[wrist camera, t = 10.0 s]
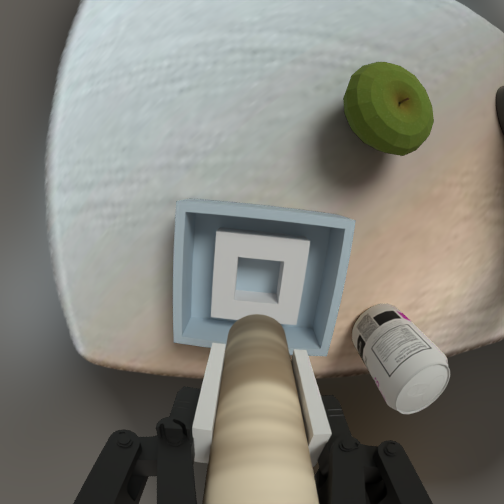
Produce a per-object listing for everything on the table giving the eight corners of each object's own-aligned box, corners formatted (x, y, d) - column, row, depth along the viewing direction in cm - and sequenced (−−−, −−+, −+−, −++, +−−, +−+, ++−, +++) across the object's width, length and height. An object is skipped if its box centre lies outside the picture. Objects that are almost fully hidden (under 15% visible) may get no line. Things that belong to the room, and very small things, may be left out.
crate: (190, 198, 32) (176, 200, 26) (338, 214, 32) (355, 220, 26) (185, 319, 35) (173, 342, 30) (317, 331, 36) (326, 356, 30)
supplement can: (407, 304, 35) (465, 357, 20) (387, 352, 37) (430, 414, 22) (361, 297, 35) (414, 358, 20) (342, 348, 36) (377, 420, 22)
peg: (229, 311, 18) (194, 525, 4) (290, 316, 18) (342, 523, 4) (225, 360, 18) (200, 548, 5) (281, 364, 19) (306, 549, 5)
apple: (345, 68, 28) (373, 34, 18) (411, 107, 28) (453, 89, 19) (318, 135, 30) (343, 115, 20) (389, 173, 31) (433, 171, 21)
